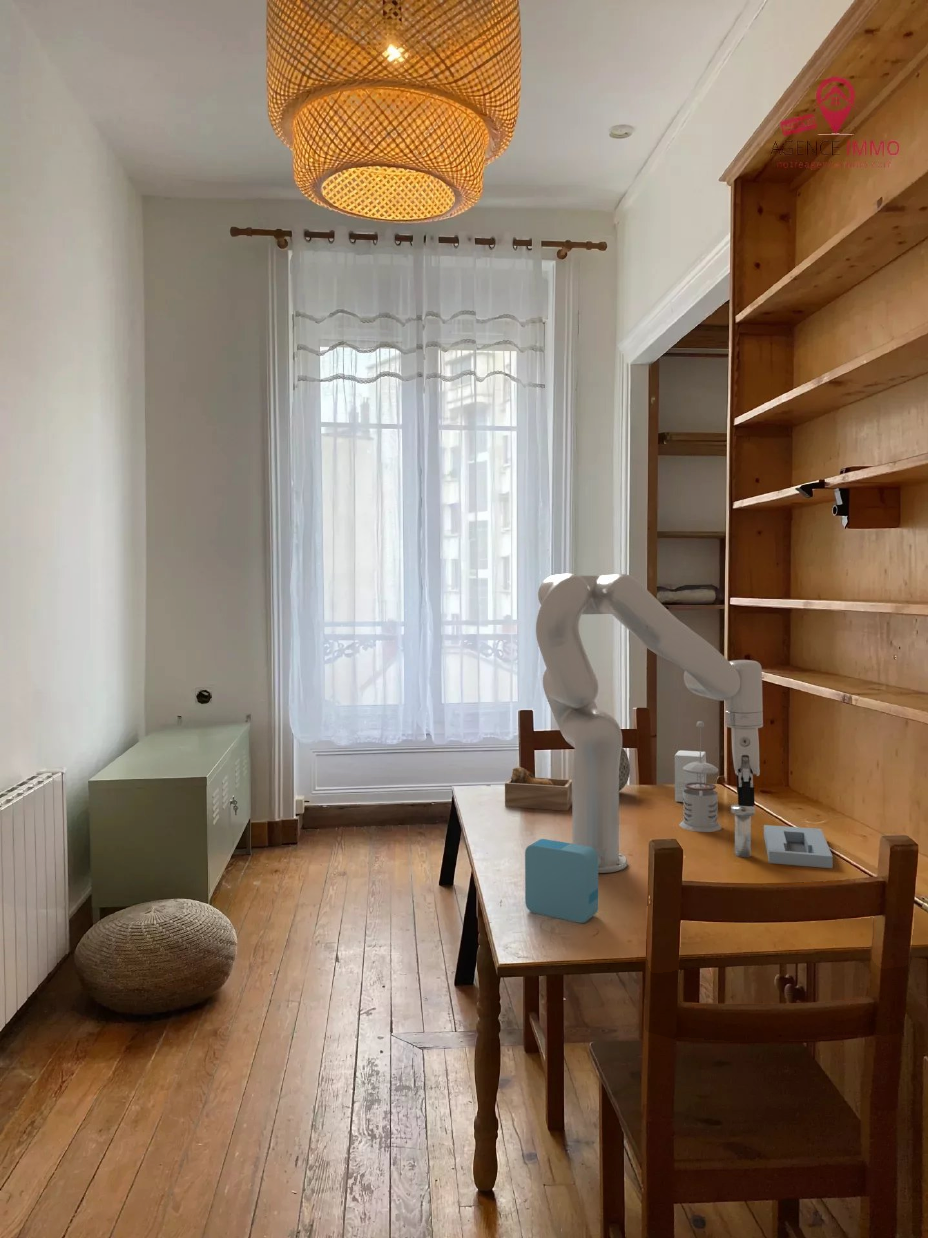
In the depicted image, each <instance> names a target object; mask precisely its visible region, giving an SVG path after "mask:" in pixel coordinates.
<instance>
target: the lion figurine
mask: <svg viewBox="0 0 928 1238" xmlns="http://www.w3.org/2000/svg"><path fill="white" fill-rule="evenodd" d="M535 777H536V776H535V775H534V774H533V773H532V772H530V771H528V770H527V769H525V768H524V767H521V766H516V767H514V768H512V773H511V776H510V778H511V780H512V782H513V783H518V784H535V785H551V786H553V784H552V782H551V781H550V780H548V779H536V778H535Z"/></svg>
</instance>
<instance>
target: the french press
mask: <svg viewBox="0 0 928 1238" xmlns="http://www.w3.org/2000/svg"><path fill="white" fill-rule="evenodd" d="M696 727H698V728H699V752H700V761H699V762H693V763H689V764H688V765H686V766H684V767H683V769H684V770H685V771H686V772H689V773H694V774H697V782H689V783H686V784H685V786H686V788H688V789H686V790H684V791H683V797H684V799H683V802H682V803H683V805H682V813H683V814H682V817H683V818H682V821H681V822H680V823H679V824H678V825H679V827H680V828H682V829H684V830H687V831H692V832H698V833H699V832H700V833H711V832H718V831H720V830H722V829H723V827H722V825H721V824H720V823H719V821H718V819H719V817H718V815H719V811H718V810H719V809H718V808H719V806H718V805H719V804H718V802H719V801H718V799H719V795H718V791H716V790H715V789H716V788H717V786H716V785H715V784H713V783H709V782H706V783H705V774H706V775H713V774H717V773H718V772H719V769H718V767H716V766H715V765H714V764H711V763H708V762H706V763H705V762H702V761H701V752H702V728H703V727H705V723H704V721H702V720H701V721H697V722H696ZM698 774H700V776H698ZM701 774H704V776H701ZM698 777H700V782H699V783H698ZM701 777H704V782H703V783H701ZM699 791H702V796H699ZM684 800H685V802H684Z"/></svg>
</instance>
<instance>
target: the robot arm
mask: <svg viewBox="0 0 928 1238" xmlns="http://www.w3.org/2000/svg"><path fill="white" fill-rule="evenodd" d="M537 598H538V601H539V604H540V608H539V610H538V613H537V617H536V623H535V634H536V641H537V644H538V647H539V650H540V651H539V652H540V653H541V656H542V659H543V661H544V665H545V667H546V668H545V670H544V672H543V675H542V687H543V692H544V695H545V696H546V699H547V702H548V705H549V707H550V710H551V712H552V715H553V717H554V719H555V722H556V723H557V726H558V729H559V732H560V733H561V735H562V737H563V738H564V740H565V741H566V742H567V743H568V744H569V745H570V746H571V747H573V748H574V754H573V755H574V756H573V763H572V769H571V770H572V771H571V772H572V773H571V779H572V804H571V806H572V808H571V810H572V815H571V818H572V819H571V821H572V822H571V824H572V825H571V827H572V843H571V844H577V845H583V846H589V847H592V848H594V849H595V850H596V852H597V854H598V874H610V873H615V872H619V871H622V870H623V869H625V868H626V867H627V866H628V861H627V860H628V859H627V857H626V856H625V855H623V854H622V853H620V791H619V765H620V756H621V750H622V747H623V732H622V730H621V726H620V725H619V723H618V722H617V721H618V720H616V719H615V718H614V716H612V715H611V714H609V713H608V712H606V711H603V710H601V709H599V708H598V706H597V703H596V701H595V700H596V698H597V697H598V695H599V682H598V679H597V676H596V674H595V671H594V669H593V667H592V665H591V662H590V660H589V658H588V655H587V653H586V650H585V648H584V645H583V641H582V638H581V635H580V631H579V624H580V623H579V622H580V619H581V615H607V614H608V615H612V616H613V617H614V618H615V619H616V620H617V621H619V623H620V624H621V625H623V626H624V627H625V628H626V629H627V630H628V631H629V632H630V633H631V634H632V635H633V636H634V637H636V639H637V640H638V641H639V642H640V643H641V645H643V646H645V647H646V648H647V649H648V650H649V651H651V652H653V653H654V654H656V655H658V656H660V657H661V658H664V659H666V660H667V661H670V662H672V664H673V663H674V664H675V665H676V666H678V667H679V668H681V669H682V670H683V671H684V674H683V681H684V685H685V687H686V688H687V689H688V690H689V691H690V692H691V693H693V694H694V695H697V696H701V697H703V698H708V699H711V700H716V701H724V722H725V723H724V726H725V727H727V728H730V730H731V751H732V761H733V768H734V774H735V775H736V793H737V804H738V805H739V806H753V807H754V806H755V805H756V803H755V801H756V800H755V786H754V775H756V776H757V777H759V776H760V772H761V770H760V743H759V742H760V741H759V730H758V729H761V728H763V727H764V720H763V719H764V717H763V715H764V714H763V713H764V712H763V710H764V709H763V708H764V707H763V706H764V705H763V669H762V668H763V667H762V665H761V663H760V662H758V661H756V660H751V659H750V660H749V659H737V660H736V659H735V660H734V659H733V660H728V659H727V658H726V657H725V656H724V655H723V654H722V653H721V652H720V651H718V650H717V648H715V647H714V646H713V645H712V644H711V643H709V642H708V641H707V640H706V639H704V638H703V637H702V636H700V634H697V633H696V632H695V631H693V630H692V628H690V627H689V626H687V625H686V624H685V623H683V622H682V621H681V620H679V619H678V617H676V616H675V615H674V614H673V613H672V612H671V611H669V610H668V609H667V607H665V606H664V605H663V604H662V602H660V601H659V600H658V599H657V598H656V597H655V596H654V595H653V594H652V593H651V592H650V591H649V590H648V589H647V588H646V587H645V586H644V585H643V584H642V583H641V582H640V581H638V580H637V579H636V578H635V577H633V576H631V575H630V574H626V573H614V574H596V575H595V574H593V575H590V574H588V575H580V574H579V575H578V574H574V573H561V574H554V575H550V576H548V577H547V578H545V579H544V580H543V581H542V582H541V584H540V586H539V587H538V592H537Z"/></svg>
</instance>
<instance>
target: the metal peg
mask: <svg viewBox="0 0 928 1238" xmlns="http://www.w3.org/2000/svg"><path fill="white" fill-rule="evenodd" d="M730 813H731V814H733V815H734V855H735V857H737V858H738V857H739V858H750V857H751V856H752V853H751V852H752V851H751V850H752V849H751V848H752V846H751V845H752V844H751V840H752V834H751V833H752V830H751V829H752V828H751V827H752V826H751V825H752V816H754V815H755V814H756V807H754V806H739V805H738V803H737V804H732V805H730Z"/></svg>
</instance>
